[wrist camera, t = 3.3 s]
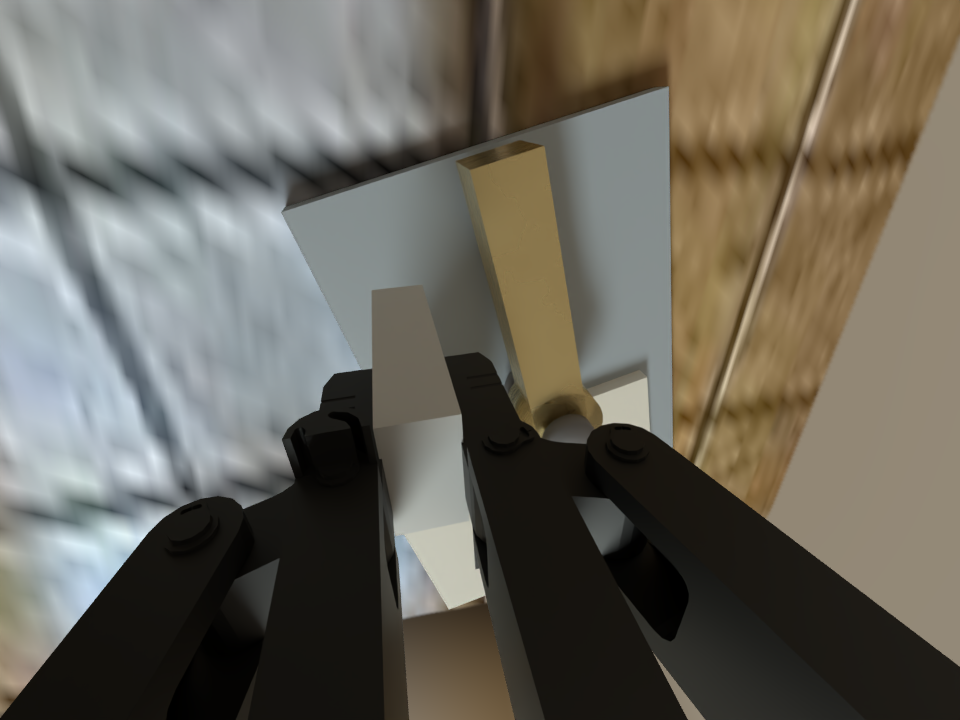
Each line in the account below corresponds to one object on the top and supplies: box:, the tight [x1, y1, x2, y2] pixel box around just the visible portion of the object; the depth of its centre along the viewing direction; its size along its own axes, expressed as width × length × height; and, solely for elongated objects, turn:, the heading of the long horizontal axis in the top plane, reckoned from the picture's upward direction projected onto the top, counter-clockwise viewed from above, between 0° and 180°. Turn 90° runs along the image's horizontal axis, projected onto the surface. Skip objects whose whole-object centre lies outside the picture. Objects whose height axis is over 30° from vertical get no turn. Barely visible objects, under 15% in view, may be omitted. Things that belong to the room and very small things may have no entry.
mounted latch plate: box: [281, 86, 673, 609], centre depth 21 cm, size 26×16×10 cm, turn 15°
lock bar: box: [455, 140, 603, 438], centre depth 18 cm, size 14×4×3 cm, turn 15°
